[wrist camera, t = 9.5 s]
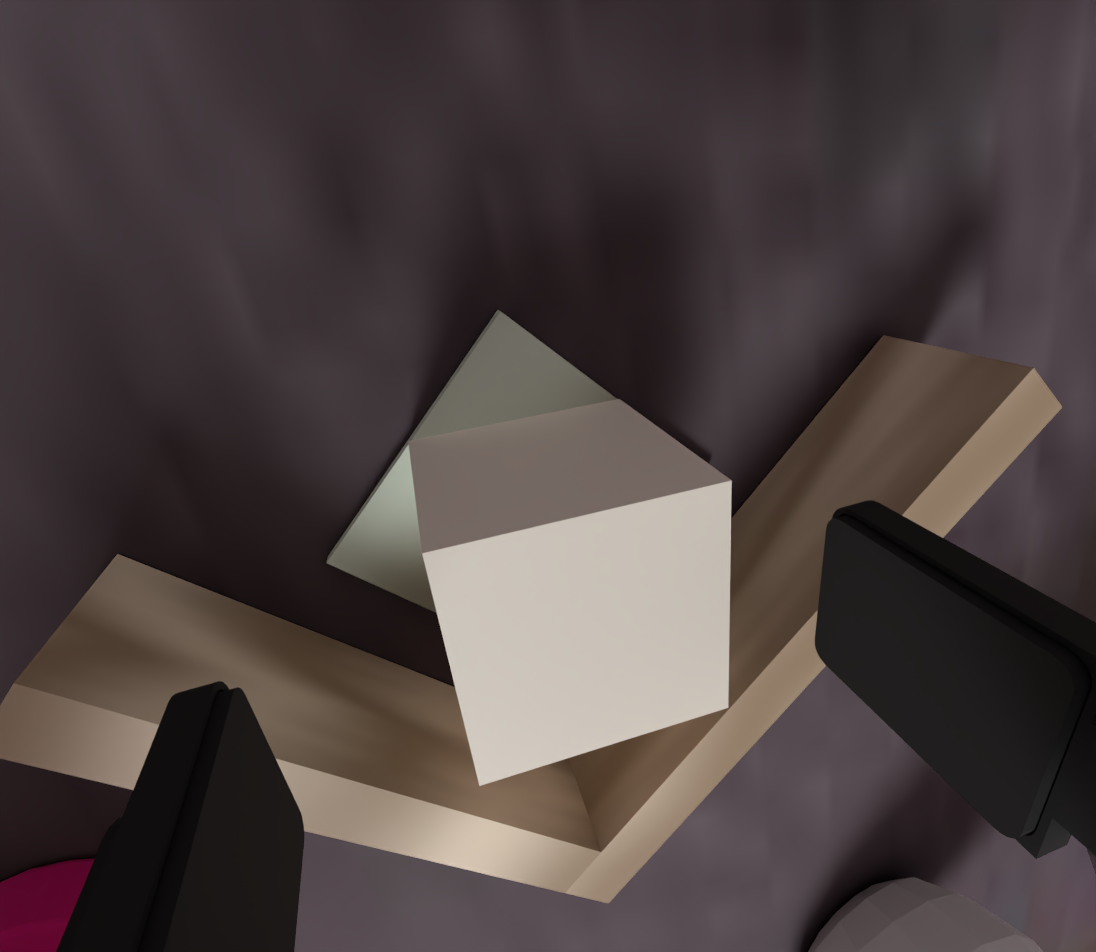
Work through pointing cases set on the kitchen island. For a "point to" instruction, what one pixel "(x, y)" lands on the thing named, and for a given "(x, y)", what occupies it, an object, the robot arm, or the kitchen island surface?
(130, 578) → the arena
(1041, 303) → the kitchen island surface
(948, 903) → the soap bottle
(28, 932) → the pepper mill
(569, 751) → the cube
